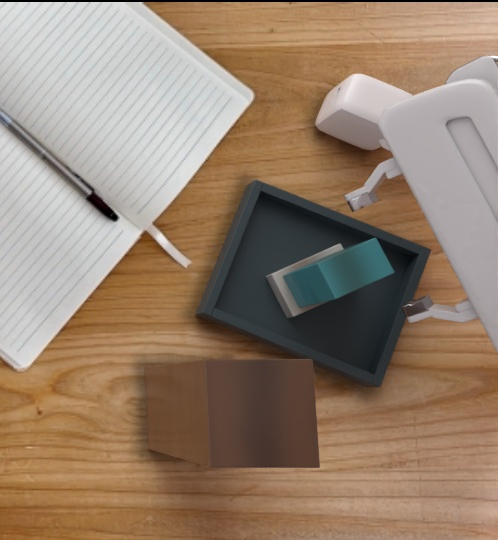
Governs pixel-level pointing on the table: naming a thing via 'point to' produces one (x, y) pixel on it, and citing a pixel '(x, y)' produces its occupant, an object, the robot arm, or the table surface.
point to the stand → (234, 412)
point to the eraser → (328, 276)
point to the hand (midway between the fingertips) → (377, 257)
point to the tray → (325, 315)
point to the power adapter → (358, 110)
